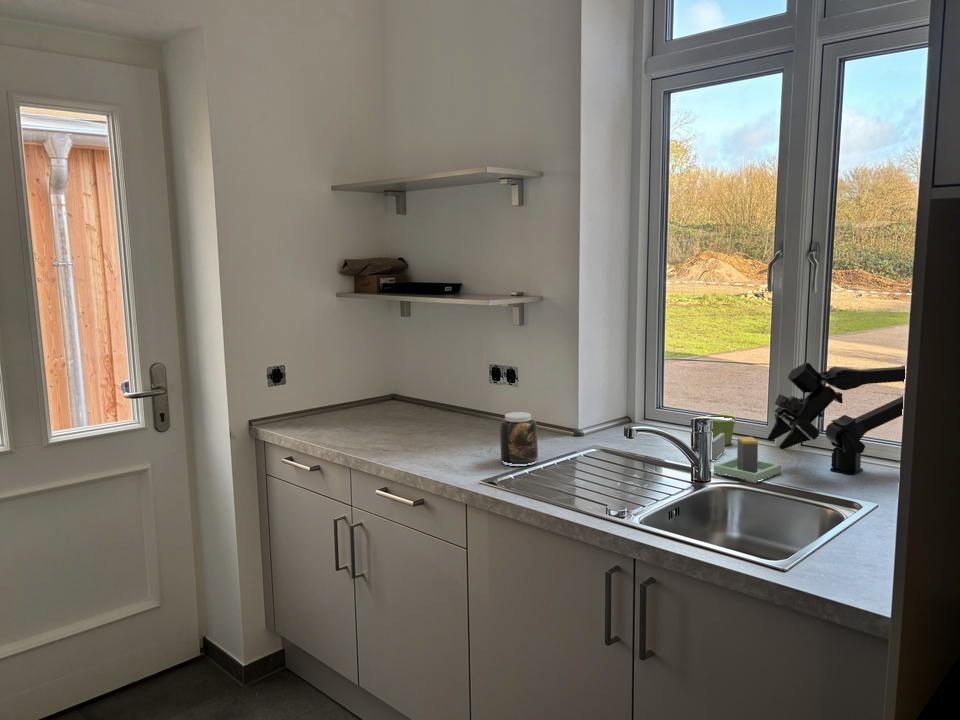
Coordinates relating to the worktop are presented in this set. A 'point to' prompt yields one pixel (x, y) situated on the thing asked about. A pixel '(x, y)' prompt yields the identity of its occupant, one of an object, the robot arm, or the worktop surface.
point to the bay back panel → (718, 445)
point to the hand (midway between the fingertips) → (774, 444)
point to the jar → (518, 438)
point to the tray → (762, 472)
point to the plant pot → (723, 427)
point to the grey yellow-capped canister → (747, 454)
